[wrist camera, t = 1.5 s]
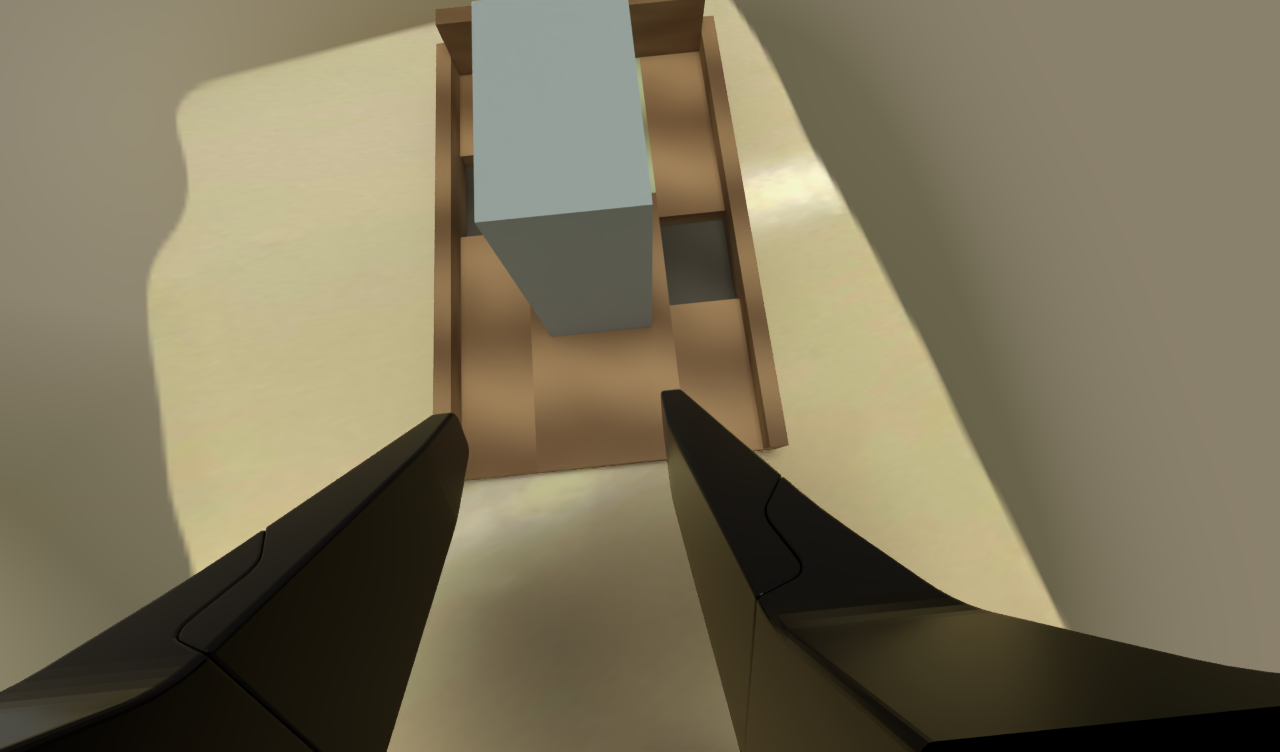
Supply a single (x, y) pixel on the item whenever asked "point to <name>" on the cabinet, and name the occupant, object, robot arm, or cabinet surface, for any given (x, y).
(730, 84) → the cabinet surface
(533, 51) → the slate block
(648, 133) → the tray
